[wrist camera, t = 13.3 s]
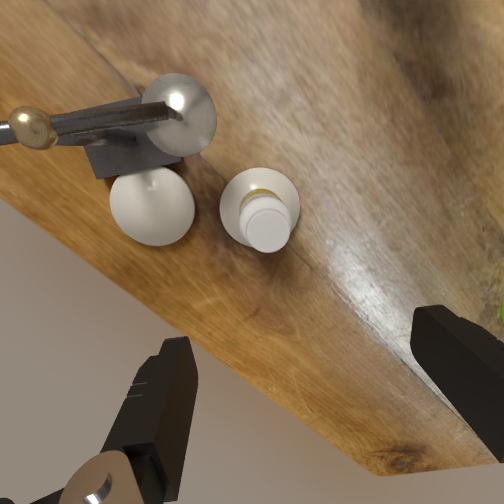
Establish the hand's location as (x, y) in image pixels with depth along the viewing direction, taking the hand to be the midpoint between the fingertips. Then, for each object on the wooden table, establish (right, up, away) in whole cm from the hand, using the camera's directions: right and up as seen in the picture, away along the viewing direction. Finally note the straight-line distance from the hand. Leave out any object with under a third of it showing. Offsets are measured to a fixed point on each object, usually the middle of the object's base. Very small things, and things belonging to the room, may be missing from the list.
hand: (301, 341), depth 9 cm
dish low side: (-1, +9, +24) cm, 26 cm away
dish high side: (-14, +9, +24) cm, 29 cm away
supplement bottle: (-1, +8, +23) cm, 25 cm away
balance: (-15, +16, +21) cm, 31 cm away
